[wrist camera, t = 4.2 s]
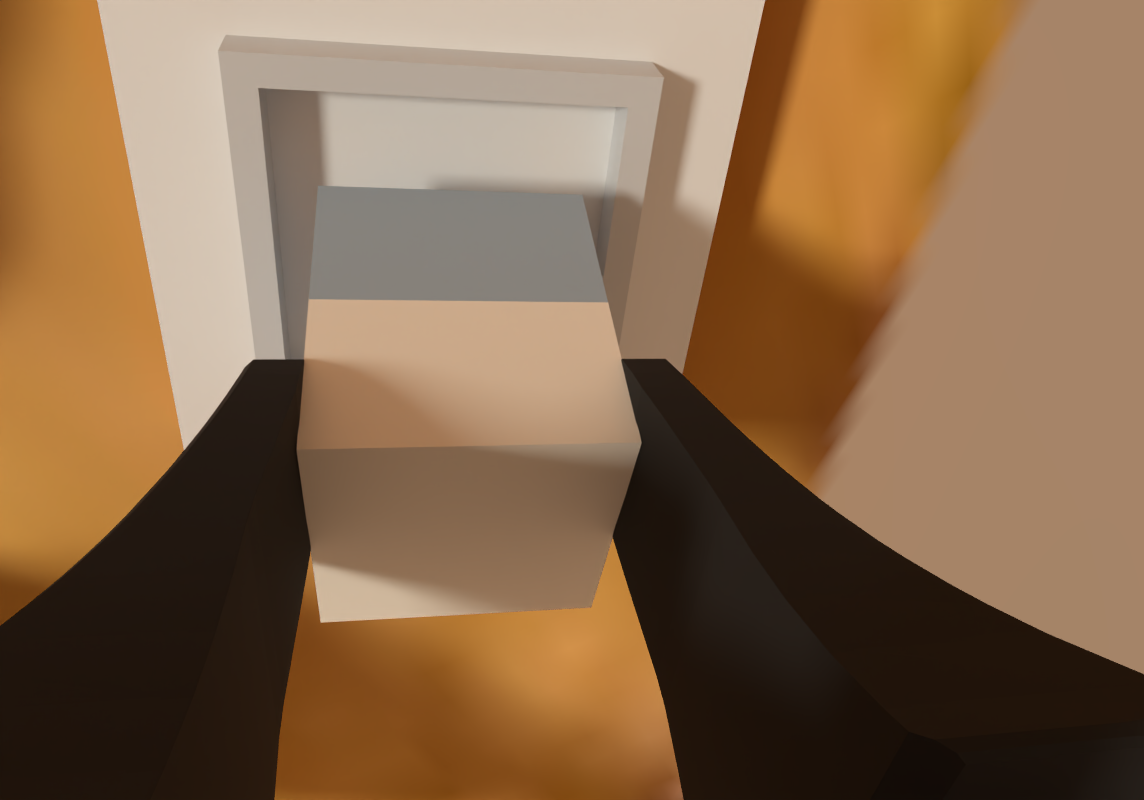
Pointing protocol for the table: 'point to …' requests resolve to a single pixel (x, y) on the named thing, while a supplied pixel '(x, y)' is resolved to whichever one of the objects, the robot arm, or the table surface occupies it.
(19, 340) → the table surface
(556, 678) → the table surface
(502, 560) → the block
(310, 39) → the plate
